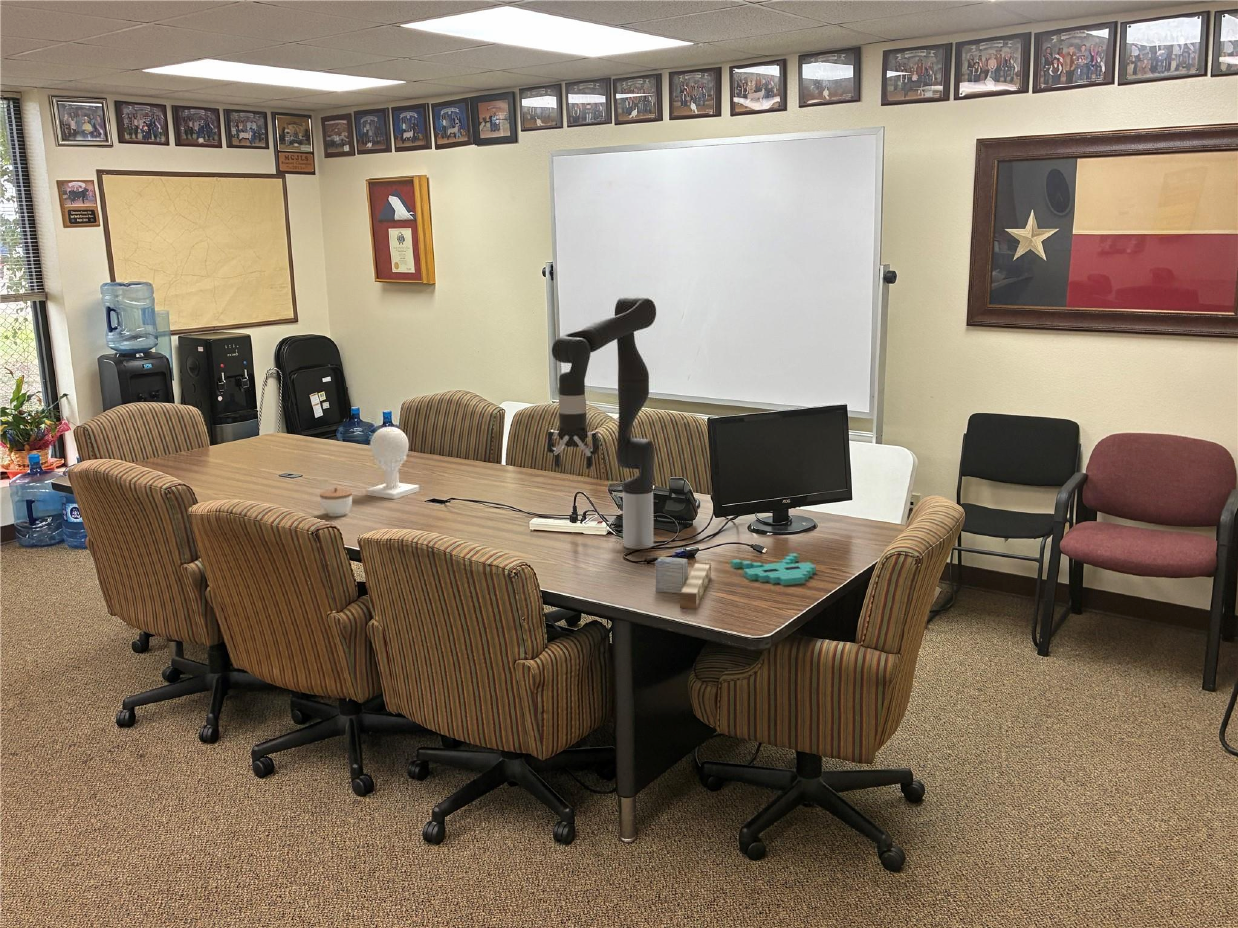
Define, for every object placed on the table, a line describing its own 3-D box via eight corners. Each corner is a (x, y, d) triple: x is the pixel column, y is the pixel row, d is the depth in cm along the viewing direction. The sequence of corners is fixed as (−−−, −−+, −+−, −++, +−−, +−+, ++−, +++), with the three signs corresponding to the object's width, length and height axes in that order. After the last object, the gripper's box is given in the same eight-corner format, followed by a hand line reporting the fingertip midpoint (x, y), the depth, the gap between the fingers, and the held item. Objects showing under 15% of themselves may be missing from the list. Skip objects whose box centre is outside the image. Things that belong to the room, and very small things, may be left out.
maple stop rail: (696, 576, 291) (696, 562, 290) (710, 576, 290) (710, 562, 289) (680, 607, 267) (680, 592, 266) (696, 609, 266) (696, 593, 265)
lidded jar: (315, 517, 356) (313, 490, 354) (331, 509, 366) (329, 483, 364) (344, 519, 353) (342, 492, 351) (359, 510, 364) (357, 484, 361)
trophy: (365, 494, 386) (361, 428, 380) (390, 486, 397) (387, 422, 392) (394, 499, 379) (390, 432, 373) (419, 491, 391) (416, 425, 385)
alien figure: (731, 567, 300) (759, 589, 281) (731, 559, 299) (759, 581, 281) (794, 560, 305) (826, 581, 287) (795, 553, 305) (827, 574, 286)
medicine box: (688, 589, 281) (688, 558, 279) (683, 594, 276) (683, 563, 275) (660, 586, 283) (659, 556, 281) (655, 592, 279) (655, 561, 277)
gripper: (601, 408, 288) (601, 466, 292) (551, 407, 291) (553, 464, 295) (594, 413, 281) (595, 472, 284) (543, 412, 284) (545, 470, 288)
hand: (573, 468), depth 290 cm, fingers open, 8 cm apart
